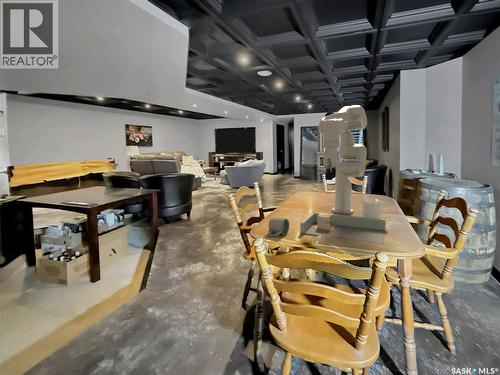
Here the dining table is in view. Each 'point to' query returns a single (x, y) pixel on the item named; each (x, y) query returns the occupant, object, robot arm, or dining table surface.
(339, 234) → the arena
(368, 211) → the candle holder
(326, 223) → the birch cube
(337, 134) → the robot arm
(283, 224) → the ceramic mug
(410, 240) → the dining table surface
